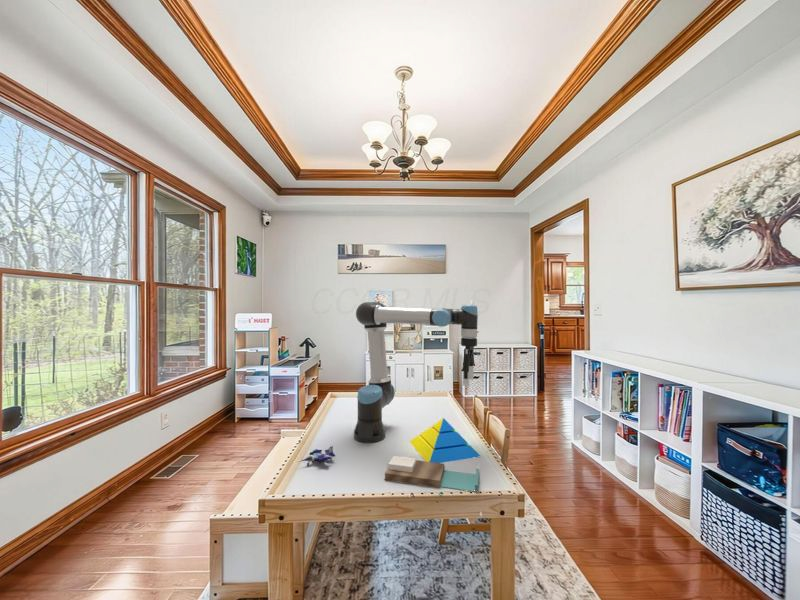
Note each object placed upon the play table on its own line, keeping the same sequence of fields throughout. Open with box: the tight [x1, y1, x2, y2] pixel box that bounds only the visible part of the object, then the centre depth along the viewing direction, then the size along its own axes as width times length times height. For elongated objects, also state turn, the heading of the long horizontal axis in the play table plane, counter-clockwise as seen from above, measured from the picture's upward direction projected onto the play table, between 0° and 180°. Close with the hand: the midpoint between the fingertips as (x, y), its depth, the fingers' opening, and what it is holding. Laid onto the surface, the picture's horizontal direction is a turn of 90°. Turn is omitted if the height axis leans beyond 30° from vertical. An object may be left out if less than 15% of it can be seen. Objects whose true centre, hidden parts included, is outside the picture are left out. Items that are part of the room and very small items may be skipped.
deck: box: [384, 459, 445, 489], centre depth 129 cm, size 20×13×2 cm, turn 75°
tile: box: [388, 455, 417, 472], centre depth 130 cm, size 9×7×2 cm
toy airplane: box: [298, 445, 336, 467], centre depth 138 cm, size 13×14×4 cm
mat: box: [440, 468, 480, 492], centre depth 125 cm, size 13×12×2 cm
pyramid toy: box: [409, 417, 481, 463], centre depth 152 cm, size 25×25×14 cm
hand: (468, 382), depth 163 cm, fingers open, 13 cm apart
